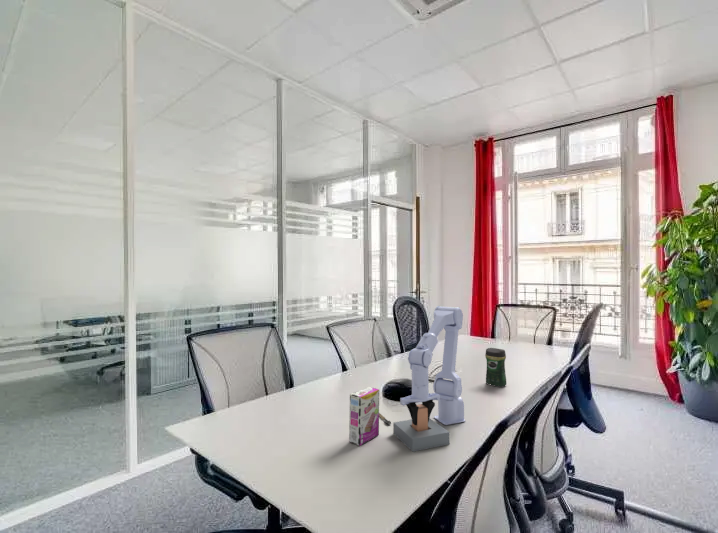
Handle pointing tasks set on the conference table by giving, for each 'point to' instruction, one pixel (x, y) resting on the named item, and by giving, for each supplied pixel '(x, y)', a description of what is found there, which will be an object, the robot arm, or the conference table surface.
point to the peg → (421, 419)
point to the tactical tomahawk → (384, 419)
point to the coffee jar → (495, 367)
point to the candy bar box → (364, 416)
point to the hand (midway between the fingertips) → (420, 423)
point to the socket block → (421, 435)
